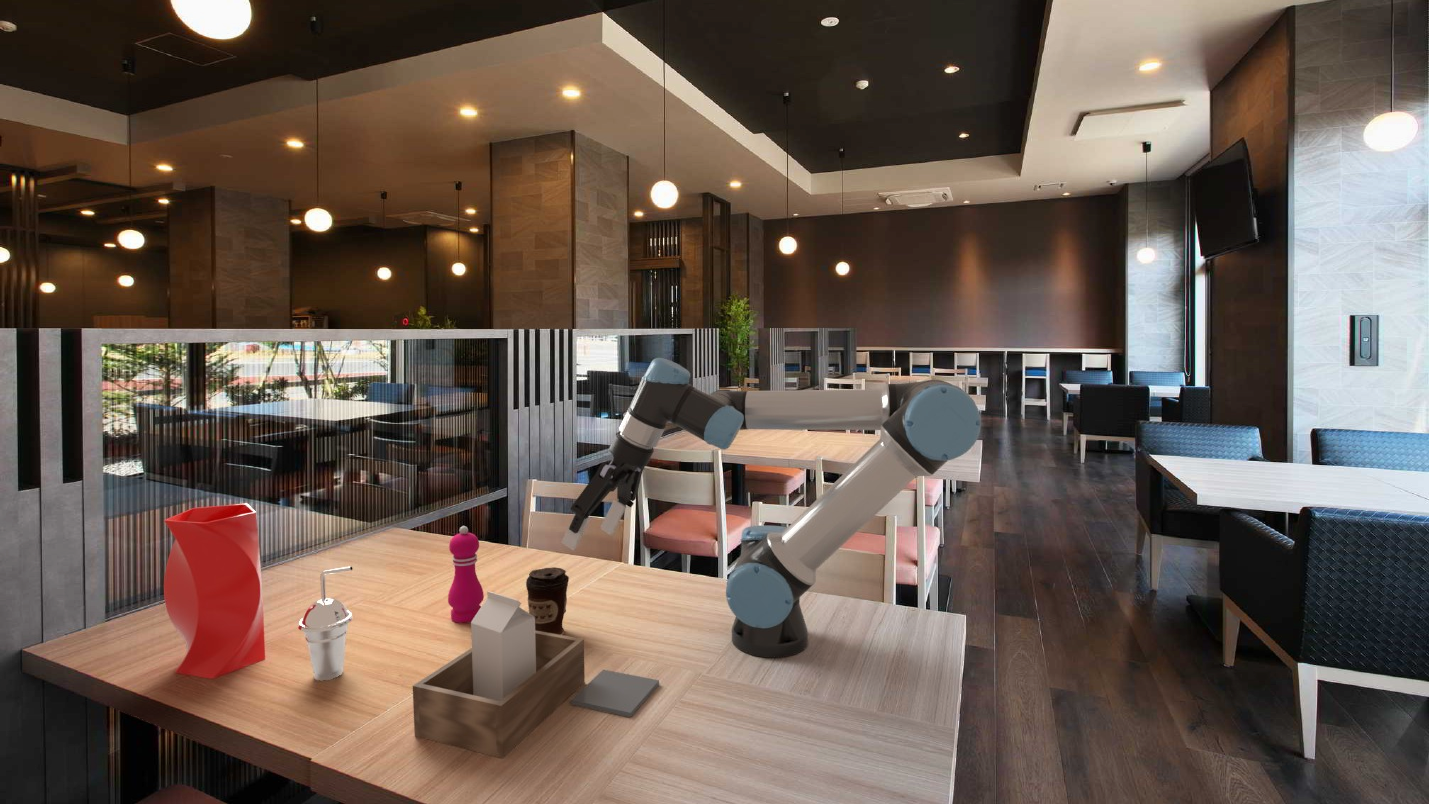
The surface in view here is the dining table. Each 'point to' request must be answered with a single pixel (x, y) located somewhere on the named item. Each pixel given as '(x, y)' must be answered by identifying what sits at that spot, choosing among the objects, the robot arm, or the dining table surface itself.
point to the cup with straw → (326, 632)
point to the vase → (216, 589)
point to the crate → (490, 723)
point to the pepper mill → (464, 577)
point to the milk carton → (502, 647)
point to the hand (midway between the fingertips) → (588, 538)
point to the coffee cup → (547, 598)
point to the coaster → (615, 693)
